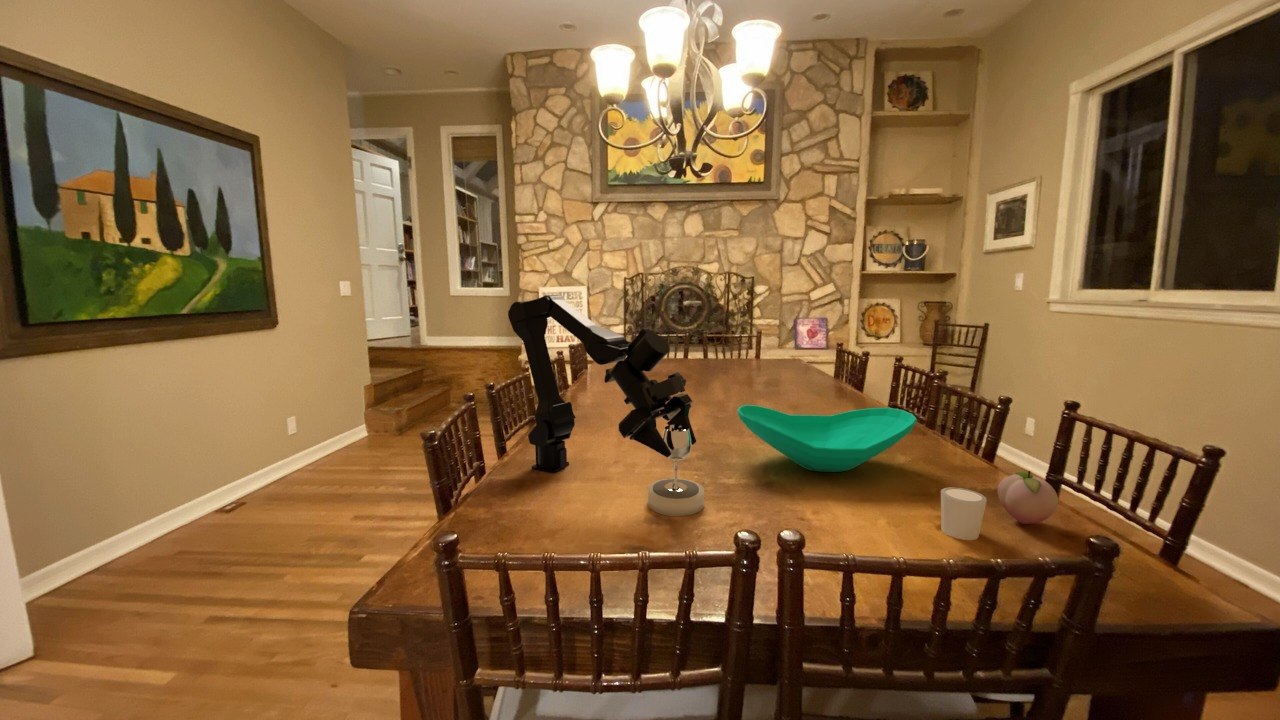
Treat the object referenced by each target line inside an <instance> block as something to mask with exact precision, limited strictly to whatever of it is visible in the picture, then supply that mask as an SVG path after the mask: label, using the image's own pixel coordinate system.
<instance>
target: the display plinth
mask: <svg viewBox="0 0 1280 720" xmlns="http://www.w3.org/2000/svg"><path fill="white" fill-rule="evenodd" d="M674 480H675V478H663V479H659V480H656V481H653V482H652V483H650V484H649V485H648V487H647V506H648V508H649V509H650V508H651V509H652V510H651V509H650V510H651V511H653V512H655V513H657V514H660V515H664V516H668V517H669V516H670V517H686V516H691V515H695V514H696V513H697V514H698V513H699V512H701V511H702V510H703V509H704V506H705V502H704V501H705V488H704V487H703V486H702V485H701V484H700V483H697V482H696V481H693V480H690V479H684V478H677V481H678V482H679V483H683V484H685V485H686V486H687V489H686V490H684V491H681V492H672V491H668V490H666V489H665V487H664V486H665V485H666V484H668V483H671V482H674Z"/></svg>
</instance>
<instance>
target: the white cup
mask: <svg viewBox="0 0 1280 720" xmlns="http://www.w3.org/2000/svg"><path fill="white" fill-rule="evenodd" d="M986 505H987V497H986V496H984V494H981V493H980V492H978V491H975V490H971V489H967V488H962V487H950V486H949V487H944V488H942V489H940V526H941V528H940V529H941V532H943V533H944V534H945V535H947V536H949V537H951V538H954V539H958V540H963V541H975V540H977V539H978V538H980V537H979V536H980V531H981V528H982V523H983V519H984V514H985V510H986Z"/></svg>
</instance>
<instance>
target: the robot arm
mask: <svg viewBox="0 0 1280 720" xmlns="http://www.w3.org/2000/svg"><path fill="white" fill-rule="evenodd" d="M507 316H508V320H509V323H510V325H511V327H512V330H513V332H514V334H516V336H518V337H519V338H520V340H521V341H522V342H523V346H524V351H525V353H526V357H527V362H528V365H529V370H530V374H531V376H532V381H533V385H534V389H535V393H536V397H537V402H538V403H537V407H536V410H535V415H534V418H535V423H536V424H535V426H534V427H533V428H532V430H531V431H530V432H529V433H528V434H527V438H528V441H529V444H530V445H533V446H534V447H535V464H533V465H531V469H533V470H539V471H543V472H547V473H556V472H558V471H560V470H562V469H563V468H566V467H567V466H569V465H570V462H569V461H568V460H567V459H568V458H567V447H566V441H565V440H569V439H570V438H571V434H572V431H573V429H574V428H575V423H576V422H575V419H576V416H575V413H574V411H573V410H574V409H573V404H572V402H571V401H565V400H564V399H563V398H562V397H561V396H560V392H559V387H558V384H557V380H556V377H555V372H554V368H553V364H552V362H551V356H550V354H549V348H548V345H547V342H546V337H545V336H546V334H547V333H546V332H547V329H548V325H549V323H548V318H552V319H553V320H554V321H556V322H557V323H558V324H559V325H561V327H563V328H564V329H565V330H566V331H568V332H569V333H571V334H572V335H573V336H574V337H575V338H576V339H578V340H579V341H580V343H582V345H583V347H584V352H585V353H586V354H587V355H588V356H589V357H590V358H591V360H592V361H593V362H594V363H596V364H597V365H600V366H602V365H603V366H605V365H608V364H613V363H616V364H614V366H612V368H606V369H605V376H604V383H605V384H607V383H611V382H615V383H616V384H617V386H618V387H619V389H620V390H621V391H622V393H623V394H624V395H625V398H624V400H623V402H624V403H625V404H626V405H629V404H631V406H632V407H633V408H634V409H632V410H630V412H629V413H627V414H626V416H625V417H623V419H621V421H619V423H618V432H619V433H620V435H621V436H622V438H623V439H626V438H629V440H630V441H632V440H633V441H635V442H638V443H640V444H641V445H643V446H646V447H647V448H650V449H652V450H653V451H655V452H656V453H658V454H660V455H662V456H664V457H666V458H667V457H669V456H670V455H671V452H670V450H669V448H668V446H667V445H666V443H665V441H664V440H663V438H662V435H661V434H660V432H659V430H658V429H657V419H659V418H662V419H664V420H665V421H667V423H666V425H667V426H668V425H684V426H687V427H688V428H689V431H690V436H691V446H692V445H694V444H696V443H697V439H696V437H695V436H696V435H695V433H694V430H693V427H692V425H691V422H690V418H689V417H690V416H689V413H690V410H691V408H692V403H693V400H692V398H691V397H690V396H689V395H688V393H683V392H686V389H685V386H686V383H687V380H686V378H684V377H683V375H682V374H681V373H680V372H678V371H676V372H674V373H672V374H669V375H667V379H664V380H661V381H660V382H659V381H658V380H656V379H650V378H649V377H648V376H647V374H646V373H645V372H651V371H653V370H654V369H655V368H656V366H658V364H659V363H660V362H661V361H662V360H663V359H664V358H665V357H666V356H667V355H668V354H669V353H670V349H671V348H670V345H669V343H668V341H667V340H666V339H665V338H662V336H660V335H659V334H658V333H656V332H652V330H651V329H650V328H649V327H646V328H642V329H641V330H640V331H639V332H638V334H637V336H636V337H635V338H633V341H629V340H627V338H625V337H624V336H623V335H622V334H619V333H617V332H616V331H614V330H611V329H607V328H604V327H601V326H600V325H598V324H596V323H594V322H593V321H592V320H591V319H590V318H588V317H587V316H586V315H585V314H583V313H582V312H580V311H579V310H578V309H577V308H575V306H573V305H571V304H570V303H569V302H568V301H566V299H565V298H564V297H563V295H562V296H561V295H560V294H550V295H549V294H547V295H543V296H541V297H538V298H535V299H531V300H527V301H526V300H525V301H524V300H523V301H514V302H513V303H511V305H510V307H509V309H508V310H507ZM679 393H680V394H679Z"/></svg>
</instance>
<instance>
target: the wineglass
mask: <svg viewBox="0 0 1280 720" xmlns="http://www.w3.org/2000/svg"><path fill="white" fill-rule="evenodd" d="M661 437H662V438H663V440H664V441H665V443H666V445H667V446H668V448H669V450H670V452H671V455H670V456H669V457H666V458H667V459H669V460H672V461H674V462H673V468H674V469H673V470H674V479H675V480H674V482H671V483H668V484H666V485H665V486H664V487H665V489H666V490H668V491H672V492H681V491H684V490H686V489H687V486H686V485H685V484H683V483H679V482H678V481H677V479H678V471H679V466H680V464H679V463H680V462H679V461H682V460H685V459H687V458H688V457H689V455H690V454H691V450H692V444H691V436H690V431H689V428H688V427H687V426H684V425H668V424H667V425H666V426H665V427H664V429H663V432H662V435H661Z"/></svg>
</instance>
